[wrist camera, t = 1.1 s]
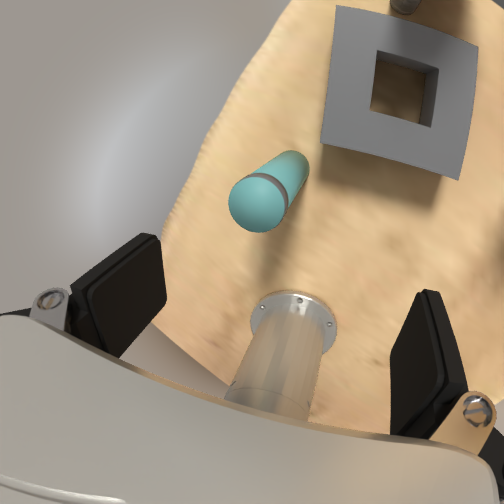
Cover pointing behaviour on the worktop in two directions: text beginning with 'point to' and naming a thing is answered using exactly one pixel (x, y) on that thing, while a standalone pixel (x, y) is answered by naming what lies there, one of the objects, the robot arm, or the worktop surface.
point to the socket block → (434, 99)
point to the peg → (268, 192)
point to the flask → (404, 6)
